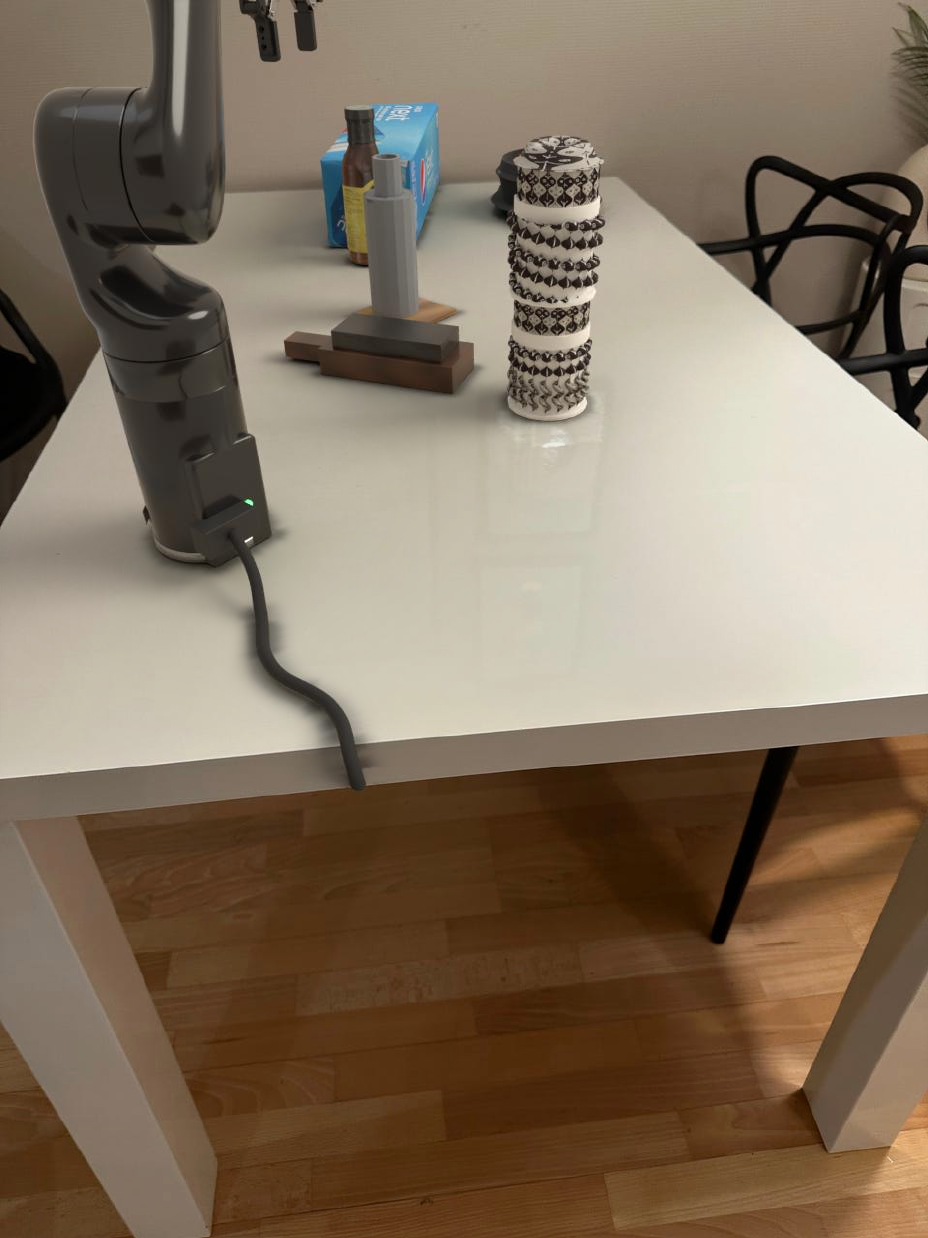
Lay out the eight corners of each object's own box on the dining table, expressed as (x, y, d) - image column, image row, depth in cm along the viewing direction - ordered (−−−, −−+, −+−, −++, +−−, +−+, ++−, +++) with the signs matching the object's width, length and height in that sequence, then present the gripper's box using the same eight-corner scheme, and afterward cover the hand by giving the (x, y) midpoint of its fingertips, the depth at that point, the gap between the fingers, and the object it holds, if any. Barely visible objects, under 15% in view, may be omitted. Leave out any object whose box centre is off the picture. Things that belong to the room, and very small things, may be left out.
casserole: (476, 195, 158) (476, 142, 153) (577, 188, 161) (580, 136, 156) (508, 237, 139) (509, 178, 134) (622, 228, 142) (628, 170, 137)
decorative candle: (519, 428, 91) (527, 157, 75) (493, 389, 98) (494, 134, 82) (603, 415, 92) (628, 148, 77) (571, 379, 99) (588, 127, 83)
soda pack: (369, 180, 167) (363, 102, 159) (442, 181, 166) (439, 101, 158) (326, 248, 136) (316, 155, 128) (415, 249, 135) (410, 155, 127)
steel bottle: (428, 309, 115) (422, 155, 104) (395, 322, 112) (385, 165, 100) (396, 298, 118) (386, 147, 107) (362, 311, 115) (349, 157, 103)
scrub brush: (474, 368, 102) (473, 325, 99) (452, 393, 97) (451, 349, 94) (306, 344, 108) (301, 303, 105) (278, 367, 103) (271, 325, 100)
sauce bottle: (384, 268, 129) (374, 112, 116) (343, 265, 130) (328, 111, 117) (396, 253, 134) (387, 102, 121) (356, 251, 135) (343, 101, 122)
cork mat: (456, 312, 115) (456, 308, 115) (406, 335, 110) (406, 331, 109) (402, 296, 120) (402, 292, 120) (352, 317, 114) (352, 313, 114)
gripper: (265, -135, 84) (289, 66, 94) (333, -134, 94) (347, 48, 104) (196, -133, 86) (227, 64, 96) (270, -132, 96) (290, 46, 107)
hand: (290, 55), depth 100 cm, fingers open, 8 cm apart
